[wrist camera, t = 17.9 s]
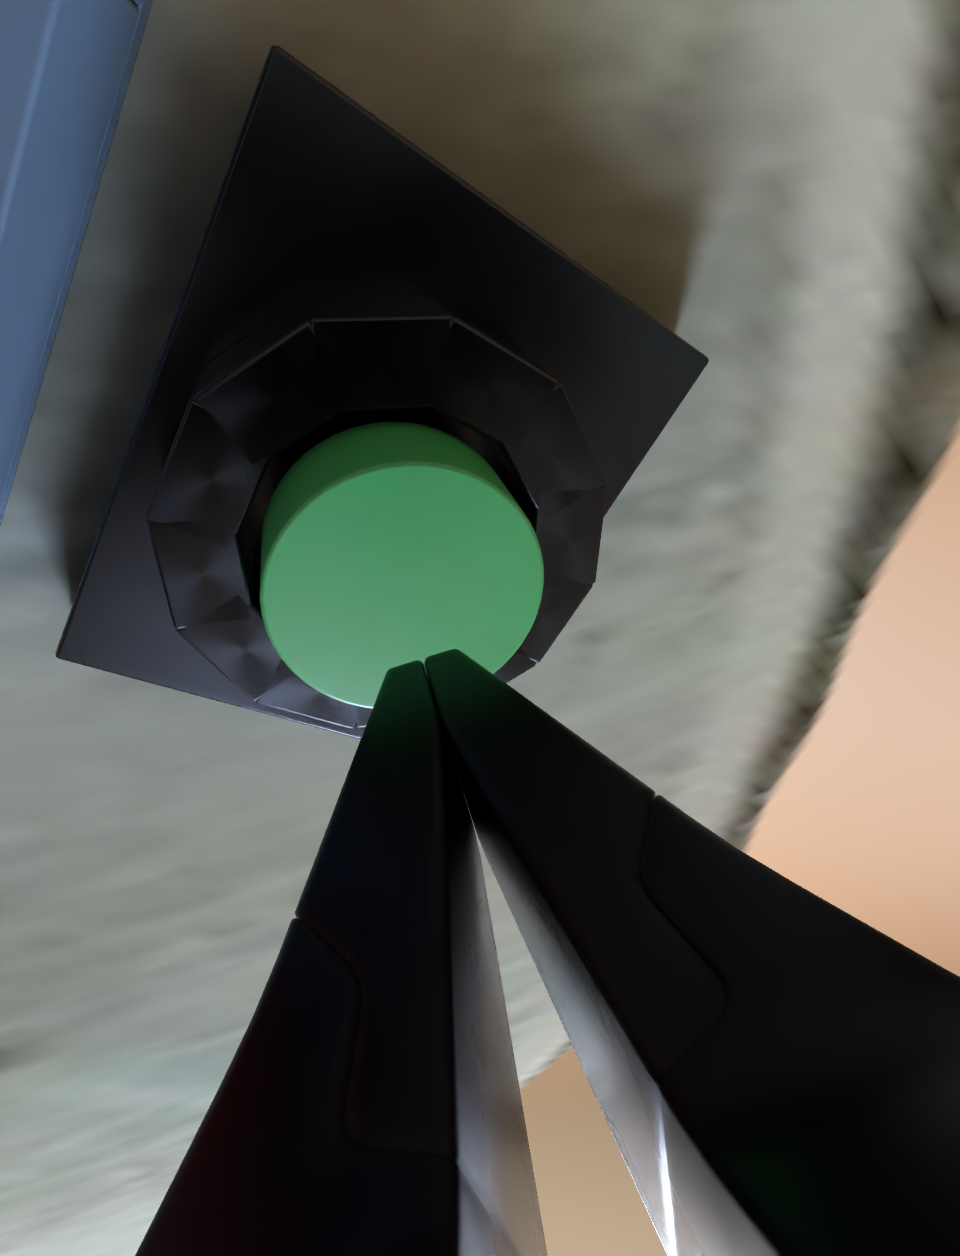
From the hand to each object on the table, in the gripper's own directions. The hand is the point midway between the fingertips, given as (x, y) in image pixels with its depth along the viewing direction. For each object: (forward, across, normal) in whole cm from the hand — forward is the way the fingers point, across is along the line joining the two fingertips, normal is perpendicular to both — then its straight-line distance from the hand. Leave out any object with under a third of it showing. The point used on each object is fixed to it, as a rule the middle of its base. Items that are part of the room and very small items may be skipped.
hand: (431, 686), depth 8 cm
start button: (+4, 0, 0) cm, 4 cm away
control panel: (+6, 0, 0) cm, 7 cm away
